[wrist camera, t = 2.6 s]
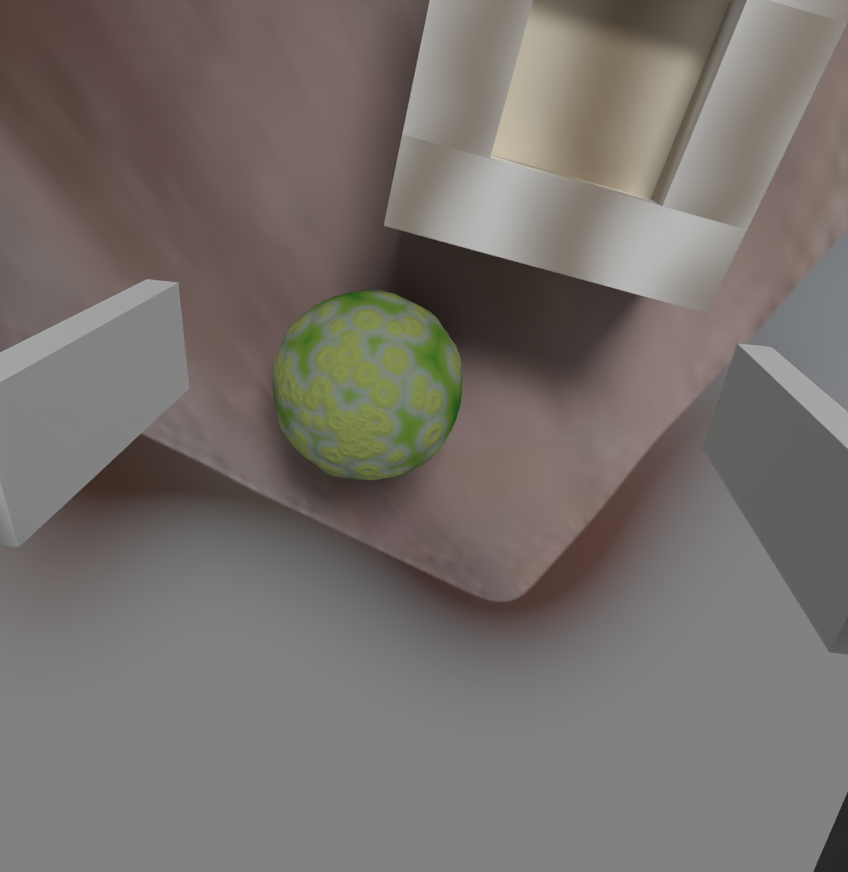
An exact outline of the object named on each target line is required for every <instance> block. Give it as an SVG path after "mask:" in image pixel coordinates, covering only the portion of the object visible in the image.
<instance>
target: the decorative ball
mask: <svg viewBox="0 0 848 872" xmlns="http://www.w3.org/2000/svg"><path fill="white" fill-rule="evenodd" d="M273 392H274V402H275V408H276V413H277V418H278V424H279V426H280V428H281V429H282V432H283V433H284V435H285V437H286V438H287V439H288V440H289V441H290V443H291V444H292V446H293V447H294V448H295V449H296V450H297V451H299V452H300V453H301V454H302V455H303V456H304V457H305V458H307V459H308V460H310V461H311V462H313V463H314V464H315V465H317V466H318V467H319V468H320V469H322V470H323V471H324V472H326V473H327V474H329V475H332V476H334V477H341V478H349V479H358V480H379V479H387V478H392V477H397V476H400V475H403V474H405V473H407V472H409V471H411V470H413V469H414V468H416V467H418V466H420V465H422V464H424V463H426V462H427V461H428V460H430V459H431V458H432V456H433V455H434V454H435V453H436V452H437V451H438V450H439V449H440V447H441V446H442V445H443V443H444V442H445V440H446V439H447V437H448V435H449V433H450V431H451V430H452V427H453V425H454V423H455V420H456V418H457V414H458V411H459V407H460V403H461V394H462V367H461V358H460V355H459V352H458V350H457V347H456V345H455V344H454V342H453V341H452V340H451V338H450V337H449V335H448V333H447V332H446V331H445V329H444V328H443V327H442V325H441V323H440V322H439V320H438V319H437V318H436V317H435V316H434V315H433V314H432V313H431V312H430V311H428V310H426V309H424V308H423V307H421V306H419V305H417V304H415V303H413V302H411V301H409V300H407V299H405V298H403V297H400V296H398V295H396V294H393V293H389V292H386V291H383V290H368V291H359V292H351V293H347V294H343V295H339V296H336V297H333V298H331V299H328V300H325V301H323V302H321V303H319V304H317V305H315V306H313V307H311V308H310V309H309V310H308V311H307V312H306V313H305V314H304V315H303V316H302V317H301V318H300V319H299V320H298V321H296V322H295V323H294V324H293V325H292V326H291V327H290V328H289V330H288V331H287V332H286V334H285V335H284V338H283V341H282V344H281V347H280V349H279V351H278V354H277V356H276V358H275V361H274V365H273Z"/></svg>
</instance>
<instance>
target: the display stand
mask: <svg viewBox="0 0 848 872" xmlns="http://www.w3.org/2000/svg"><path fill="white" fill-rule="evenodd" d="M847 22H848V0H430V2H429V7H428V12H427V16H426V21H425V26H424V31H423V36H422V41H421V46H420V51H419V55H418V60H417V65H416V70H415V75H414V80H413V85H412V90H411V95H410V99H409V104H408V109H407V114H406V119H405V124H404V129H403V134H402V138H401V143H400V148H399V153H398V158H397V163H396V168H395V173H394V177H393V182H392V187H391V192H390V197H389V202H388V207H387V212H386V217H385V221H384V226H387V227H390V228H394V229H398V230H401V231H405V232H409V233H413V234H416V235H420V236H424V237H427V238H431V239H435V240H438V241H442V242H446V243H449V244H453V245H457V246H460V247H464V248H468V249H471V250H475V251H479V252H483V253H486V254H490V255H494V256H497V257H501V258H505V259H508V260H512V261H516V262H519V263H523V264H527V265H530V266H534V267H538V268H541V269H545V270H549V271H553V272H556V273H560V274H564V275H567V276H571V277H575V278H578V279H582V280H586V281H589V282H593V283H597V284H600V285H604V286H608V287H611V288H615V289H619V290H623V291H626V292H630V293H634V294H637V295H641V296H645V297H648V298H652V299H656V300H659V301H663V302H667V303H670V304H674V305H678V306H681V307H685V308H689V309H693V310H696V311H700V312H704V313H707V312H708V310H709V308H710V306H711V304H712V301H713V299H714V297H715V295H716V293H717V291H718V289H719V287H720V285H721V283H722V281H723V279H724V277H725V275H726V272H727V270H728V268H729V266H730V264H731V262H732V260H733V258H734V256H735V254H736V252H737V250H738V248H739V246H740V244H741V241H742V239H743V237H744V235H745V233H746V231H747V229H748V227H749V225H750V223H751V221H752V219H753V217H754V215H755V213H756V210H757V208H758V206H759V204H760V202H761V200H762V198H763V196H764V194H765V192H766V190H767V188H768V186H769V184H770V182H771V179H772V177H773V175H774V173H775V171H776V169H777V167H778V165H779V163H780V161H781V159H782V157H783V155H784V153H785V151H786V148H787V146H788V144H789V142H790V140H791V138H792V136H793V134H794V132H795V130H796V128H797V126H798V124H799V122H800V119H801V117H802V115H803V113H804V111H805V109H806V107H807V105H808V103H809V101H810V99H811V97H812V95H813V93H814V91H815V88H816V86H817V84H818V82H819V80H820V78H821V76H822V74H823V72H824V70H825V68H826V66H827V64H828V62H829V60H830V57H831V55H832V53H833V51H834V49H835V47H836V45H837V43H838V41H839V39H840V37H841V35H842V33H843V31H844V29H845V26H846V24H847Z"/></svg>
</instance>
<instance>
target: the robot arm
mask: <svg viewBox="0 0 848 872" xmlns="http://www.w3.org/2000/svg"><path fill="white" fill-rule="evenodd" d="M188 389H189V383H188V373H187V363H186V353H185V344H184V334H183V324H182V314H181V304H180V295H179V285H178V283H176V282H167V281H158V280H149V279H147V280H145V281H143V282H141V283H139V284H137V285H135V286H133V287H131V288H129V289H127V290H125V291H123V292H121V293H119V294H117V295H115V296H112V297H110V298H108V299H106V300H104V301H102V302H100V303H98V304H96V305H94V306H92V307H90V308H88V309H86V310H84V311H82V312H80V313H78V314H76V315H74V316H72V317H70V318H68V319H66V320H64V321H62V322H60V323H58V324H56V325H54V326H52V327H50V328H48V329H46V330H44V331H42V332H40V333H38V334H36V335H34V336H32V337H30V338H28V339H26V340H24V341H22V342H20V343H18V344H16V345H14V346H12V347H10V348H8V349H6V350H4V351H2V352H0V545H5V546H13V547H19V546H21V544H23V543H24V542H25V541H26V540H27V539H28V538H29V537H30V536H31V535H32V534H33V533H34V532H36V531H37V530H38V529H39V528H40V527H41V526H42V525H43V524H44V523H45V522H46V521H47V520H48V519H50V518H51V517H52V516H53V515H54V514H55V513H56V512H57V511H58V510H59V509H60V508H61V507H62V506H63V505H64V504H66V503H67V502H68V501H69V500H70V499H71V498H72V497H73V496H74V495H75V494H76V493H77V492H78V491H80V490H81V489H82V488H83V487H84V486H85V485H86V484H87V483H88V482H89V481H90V480H91V479H93V478H94V477H95V476H96V475H97V474H98V473H99V472H100V471H101V470H102V469H103V468H104V467H105V466H106V465H108V464H109V463H110V462H111V461H112V460H113V459H114V458H115V457H116V456H117V455H118V454H119V453H120V452H122V451H123V450H124V449H125V448H126V447H127V446H128V445H129V444H130V443H131V442H132V441H133V440H134V439H135V438H137V437H138V436H139V435H140V434H141V433H142V432H143V431H144V430H145V429H146V428H147V427H148V426H149V425H151V424H152V423H153V422H154V421H155V420H156V419H157V418H158V417H159V416H160V415H161V414H162V413H163V412H165V411H166V410H167V409H168V408H169V407H170V406H171V405H172V404H173V403H174V402H175V401H176V400H177V399H178V398H180V397H181V396H182V395H183V394H184V393H185V392H186V391H187V390H188ZM703 450H704V452H705V453H706V455H707V457H708V458H709V460H710V462H711V463H712V465H713V466H714V468H715V470H716V471H717V473H718V474H719V476H720V478H721V479H722V480H723V482H724V484H725V486H726V487H727V489H728V490H729V492H730V494H731V495H732V497H733V498H734V500H735V502H736V503H737V505H738V506H739V508H740V510H741V511H742V513H743V515H744V516H745V518H746V519H747V521H748V523H749V524H750V526H751V527H752V529H753V530H754V532H755V534H756V535H757V537H758V539H759V540H760V542H761V543H762V545H763V546H764V548H765V550H766V551H767V553H768V555H769V556H770V558H771V559H772V561H773V563H774V564H775V566H776V567H777V569H778V571H779V572H780V574H781V576H782V577H783V579H784V580H785V582H786V584H787V585H788V587H789V588H790V590H791V592H792V593H793V595H794V596H795V598H796V600H797V601H798V603H799V604H800V606H801V607H802V609H803V611H804V612H805V614H806V616H807V617H808V619H809V620H810V622H811V624H812V625H813V627H814V628H815V630H816V631H817V633H818V635H819V636H820V638H821V640H822V641H823V643H824V644H825V646H826V648H827V649H828V651H829V652H833V653H840V654H848V412H847V411H846V410H845V409H843V408H842V407H841V406H840V405H839V404H837V403H836V402H835V401H834V400H833V399H832V398H830V397H829V396H828V395H827V394H826V393H825V392H823V391H822V390H821V389H820V388H819V387H817V386H816V385H815V384H814V383H813V382H812V381H810V380H809V379H808V378H807V377H806V376H805V375H803V374H802V373H801V372H800V371H799V370H797V369H796V368H795V367H794V366H793V365H792V364H791V363H789V362H788V361H787V360H786V359H785V358H783V357H782V356H781V355H780V354H779V353H778V352H776V351H775V350H774V349H773V348H772V347H765V346H756V345H747V344H737V346H736V349H735V352H734V355H733V358H732V361H731V364H730V367H729V370H728V373H727V376H726V379H725V382H724V385H723V388H722V391H721V394H720V397H719V400H718V403H717V406H716V409H715V412H714V415H713V418H712V421H711V424H710V427H709V430H708V433H707V436H706V439H705V442H704V445H703ZM814 872H848V793H847V795H846V797H845V800H844V802H843V804H842V807H841V809H840V811H839V814H838V816H837V818H836V821H835V823H834V825H833V827H832V830H831V832H830V834H829V837H828V839H827V842H826V844H825V846H824V848H823V851H822V853H821V855H820V858H819V860H818V862H817V865H816V867H815V870H814Z"/></svg>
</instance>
